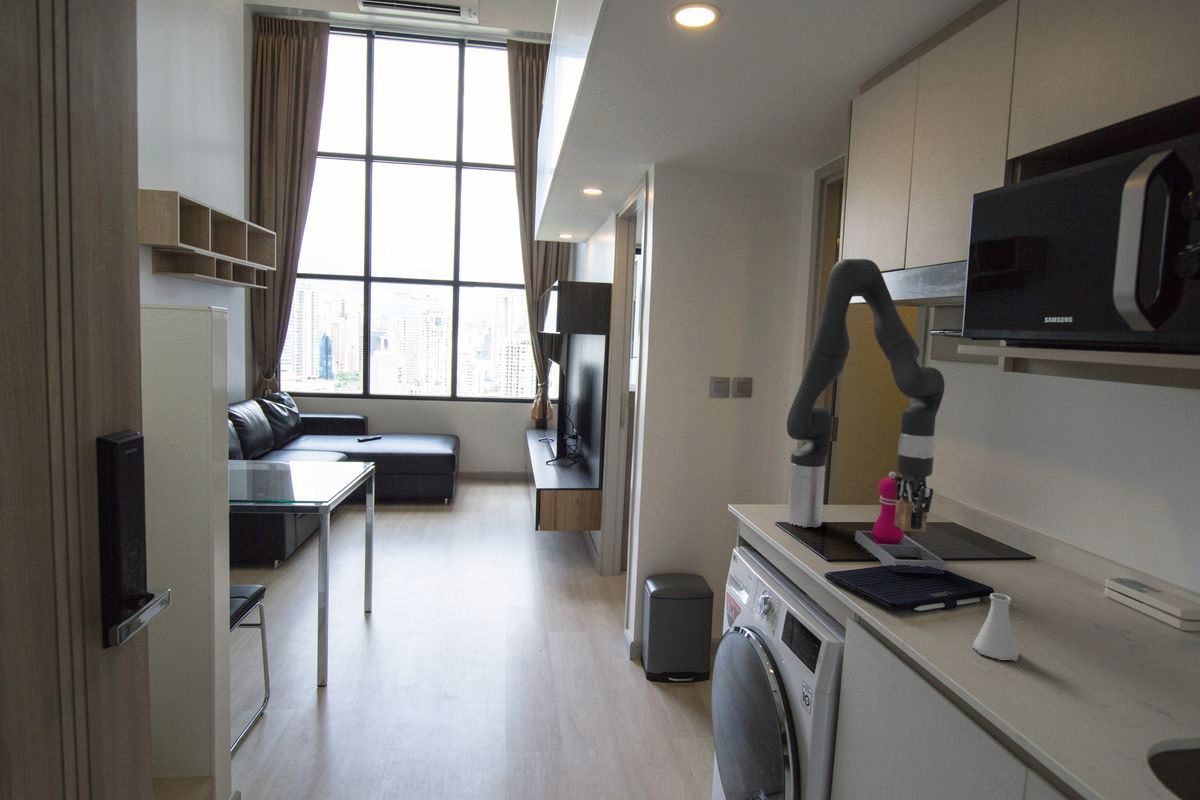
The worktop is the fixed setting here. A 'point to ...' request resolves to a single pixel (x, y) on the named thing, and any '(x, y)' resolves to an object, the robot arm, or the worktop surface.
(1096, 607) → the worktop surface
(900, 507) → the wooden block
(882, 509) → the pepper mill
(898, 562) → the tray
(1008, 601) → the flask
